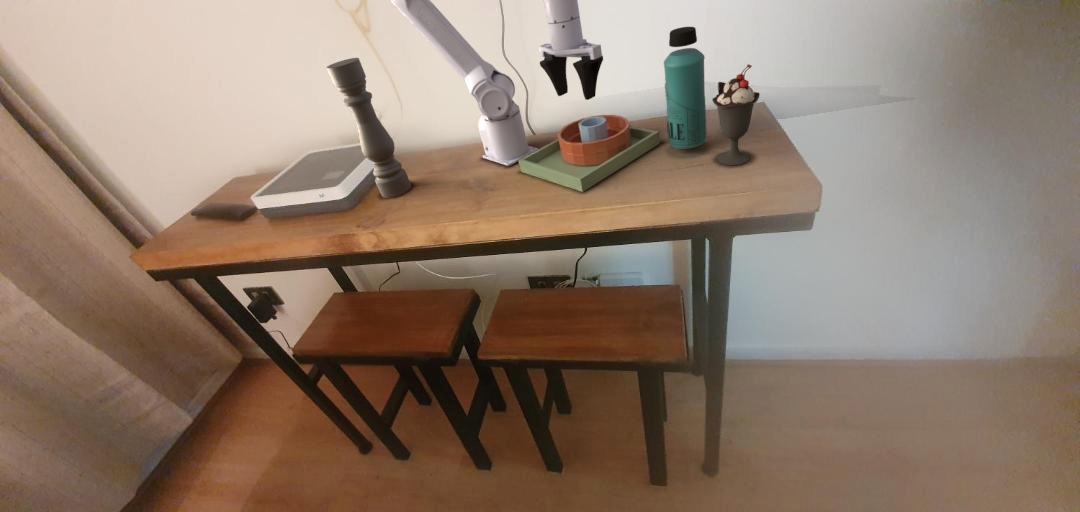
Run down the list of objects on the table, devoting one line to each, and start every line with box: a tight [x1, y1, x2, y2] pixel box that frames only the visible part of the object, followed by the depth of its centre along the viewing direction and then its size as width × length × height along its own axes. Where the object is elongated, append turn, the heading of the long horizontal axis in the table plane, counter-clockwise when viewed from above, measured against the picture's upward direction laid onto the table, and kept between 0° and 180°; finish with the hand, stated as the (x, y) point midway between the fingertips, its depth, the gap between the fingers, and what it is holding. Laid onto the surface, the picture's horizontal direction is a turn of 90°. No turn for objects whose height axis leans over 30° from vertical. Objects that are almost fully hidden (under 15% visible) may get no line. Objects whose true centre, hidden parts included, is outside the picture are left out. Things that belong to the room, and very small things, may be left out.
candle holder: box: [326, 57, 412, 199], centre depth 90 cm, size 6×6×25 cm
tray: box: [518, 126, 661, 193], centre depth 90 cm, size 17×20×2 cm
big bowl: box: [557, 114, 632, 166], centre depth 90 cm, size 13×13×5 cm
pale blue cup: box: [579, 116, 609, 143], centre depth 89 cm, size 5×5×6 cm
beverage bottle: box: [663, 26, 708, 150], centre depth 79 cm, size 6×7×20 cm
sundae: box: [711, 64, 761, 166], centre depth 74 cm, size 7×7×15 cm
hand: (576, 96), depth 92 cm, fingers open, 7 cm apart
